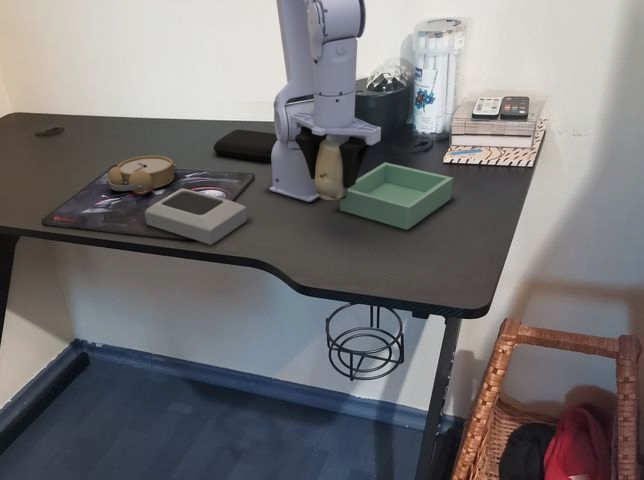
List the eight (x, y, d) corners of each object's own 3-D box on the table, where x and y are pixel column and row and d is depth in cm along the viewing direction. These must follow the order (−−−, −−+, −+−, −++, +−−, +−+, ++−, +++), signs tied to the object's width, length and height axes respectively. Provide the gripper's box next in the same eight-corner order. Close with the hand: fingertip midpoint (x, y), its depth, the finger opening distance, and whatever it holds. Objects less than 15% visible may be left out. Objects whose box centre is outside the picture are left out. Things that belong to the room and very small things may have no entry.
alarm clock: (184, 158, 125) (138, 175, 114) (185, 183, 127) (139, 202, 117) (140, 153, 131) (91, 168, 120) (141, 176, 133) (94, 194, 122)
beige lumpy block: (354, 188, 99) (356, 137, 94) (349, 202, 95) (351, 151, 90) (318, 186, 101) (318, 137, 96) (311, 201, 97) (311, 151, 92)
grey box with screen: (208, 224, 100) (143, 204, 109) (211, 244, 102) (146, 224, 111) (245, 200, 105) (180, 183, 114) (247, 220, 107) (182, 202, 116)
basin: (339, 210, 106) (340, 189, 103) (383, 182, 111) (384, 162, 109) (407, 230, 98) (409, 207, 95) (450, 199, 103) (453, 177, 101)
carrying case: (297, 145, 130) (238, 138, 138) (297, 131, 128) (237, 124, 136) (271, 165, 124) (210, 156, 132) (270, 150, 122) (208, 142, 130)
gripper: (276, 91, 91) (279, 180, 100) (361, 106, 82) (356, 202, 90) (307, 77, 95) (307, 164, 103) (392, 89, 85) (385, 184, 94)
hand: (332, 181), depth 97 cm, fingers closed on beige lumpy block, 6 cm apart
